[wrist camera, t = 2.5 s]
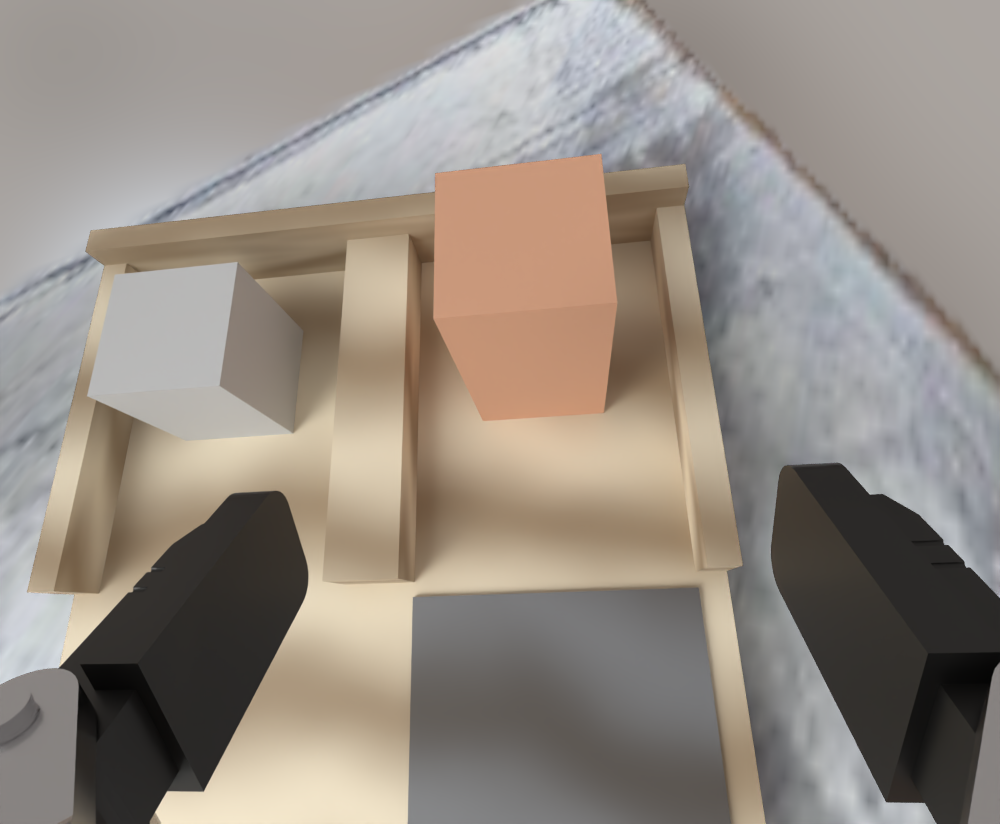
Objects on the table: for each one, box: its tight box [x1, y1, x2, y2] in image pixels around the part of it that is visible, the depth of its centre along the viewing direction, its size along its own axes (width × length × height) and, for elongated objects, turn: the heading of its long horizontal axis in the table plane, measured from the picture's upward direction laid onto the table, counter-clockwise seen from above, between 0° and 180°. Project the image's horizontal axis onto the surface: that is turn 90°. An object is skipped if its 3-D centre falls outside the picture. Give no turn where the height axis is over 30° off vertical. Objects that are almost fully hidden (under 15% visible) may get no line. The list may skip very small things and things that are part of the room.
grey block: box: [87, 262, 303, 441], centre depth 21 cm, size 4×4×5 cm
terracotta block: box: [433, 154, 617, 421], centre depth 19 cm, size 4×4×8 cm
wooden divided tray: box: [27, 164, 766, 824], centre depth 21 cm, size 24×24×5 cm
